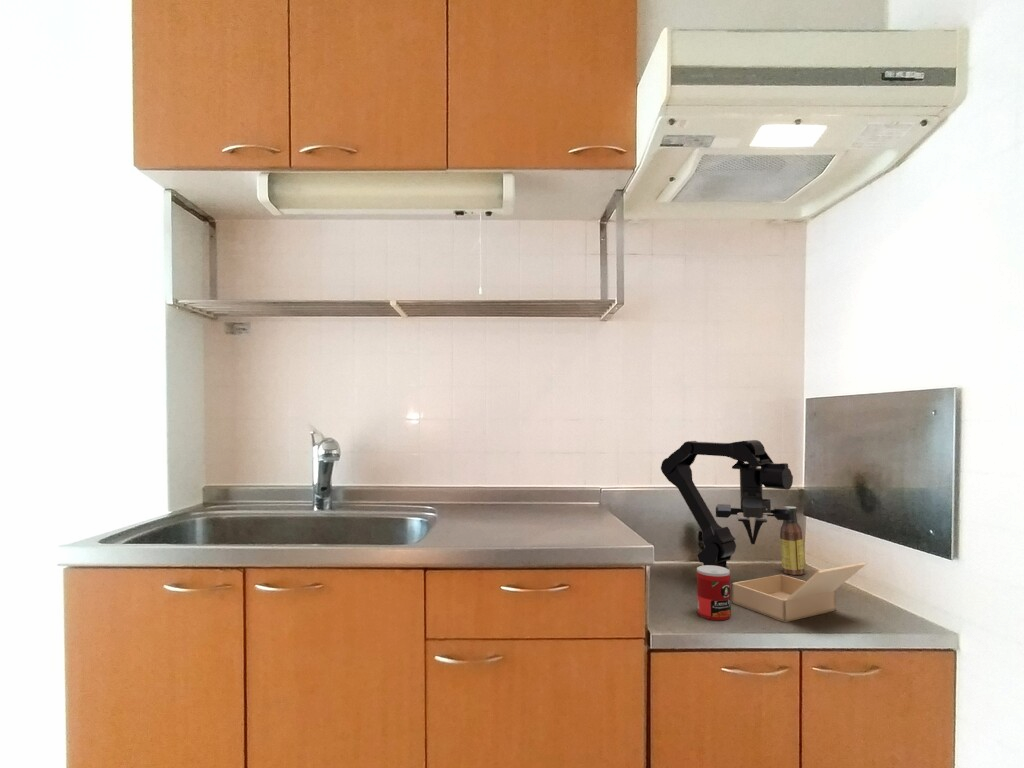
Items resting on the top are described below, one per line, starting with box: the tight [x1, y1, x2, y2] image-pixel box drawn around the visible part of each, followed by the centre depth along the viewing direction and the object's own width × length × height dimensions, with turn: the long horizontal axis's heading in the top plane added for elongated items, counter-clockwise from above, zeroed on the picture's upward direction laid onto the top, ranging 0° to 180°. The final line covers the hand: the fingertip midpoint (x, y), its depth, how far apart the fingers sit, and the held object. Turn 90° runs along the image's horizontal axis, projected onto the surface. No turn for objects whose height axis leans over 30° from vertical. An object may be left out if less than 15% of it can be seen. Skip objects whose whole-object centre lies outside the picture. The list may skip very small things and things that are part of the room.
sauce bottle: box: [779, 505, 806, 576], centre depth 182 cm, size 7×6×20 cm
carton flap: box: [787, 561, 867, 601], centre depth 140 cm, size 12×16×1 cm
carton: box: [731, 573, 837, 623], centre depth 151 cm, size 16×18×5 cm
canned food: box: [696, 565, 732, 621], centre depth 145 cm, size 8×8×11 cm
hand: (752, 544), depth 163 cm, fingers closed
